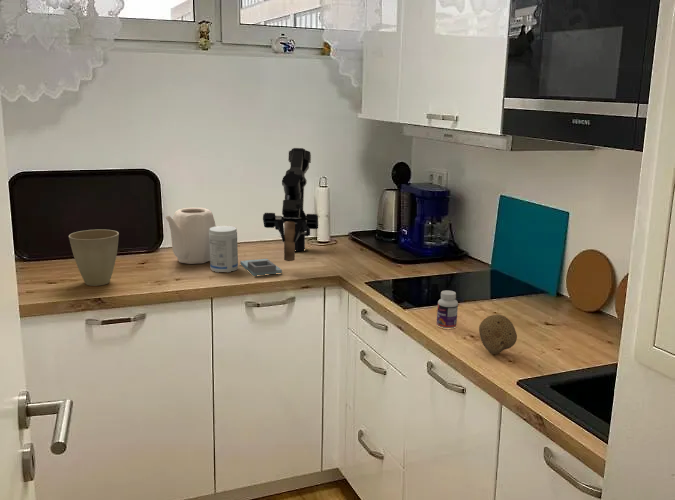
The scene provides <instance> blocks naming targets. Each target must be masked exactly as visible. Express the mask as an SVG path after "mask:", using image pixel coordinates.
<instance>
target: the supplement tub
mask: <svg viewBox="0 0 675 500" xmlns="http://www.w3.org/2000/svg"><path fill="white" fill-rule="evenodd" d="M209 245H210V261H209V264H210V265H209V267H210V270H211V271H213V272H214V271H215V273H219V272H227V273H232V272H231V271H233V272H235V271H237V270H238V268H239V259H238V258H239V256H238V255H239V254H238V253H239V251H238V250H239V249H238V231H237V227H235V226H232V225H216V226H215V227H212V228H210V229H209Z"/></svg>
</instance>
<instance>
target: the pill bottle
mask: <svg viewBox="0 0 675 500" xmlns="http://www.w3.org/2000/svg"><path fill="white" fill-rule="evenodd" d="M458 310H459V302H458V300H457V293H456V291H453V290H442V291H441V292H440V299H439V300H438V301H437V314H436V326H437V325H438V326H440V327H443V328H454V327H456V328H457V325H458V323H457V322H458V312H459V311H458ZM438 326H437V327H438ZM454 329H455V328H454Z"/></svg>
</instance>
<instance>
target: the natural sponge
mask: <svg viewBox="0 0 675 500" xmlns="http://www.w3.org/2000/svg"><path fill="white" fill-rule="evenodd" d="M478 331H479V338H480V340H481V342H482V346H483V347H484V349H486V351H488V353H490V354H491V355H493V354H496V355H498V354H500V353H502V352H503V351H505V350H508V349H510V348H512V347H513V346H514V345H516V343H517V340H518V339H517V338H518V335H517V332H516V329H515V325H514V323H513V322H512V321H511V320H510V319H509V318H508V317H506V316H505V315H502V314H493V315H492V314H491V315H489V316H488V315H487V317H486V318H484V319H483V320H482V321H481V322H480V324H479V326H478Z"/></svg>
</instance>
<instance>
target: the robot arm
mask: <svg viewBox="0 0 675 500" xmlns="http://www.w3.org/2000/svg"><path fill="white" fill-rule="evenodd" d="M311 160H312V153H311V151H309V150H306V149H305V148H303V147H301V148H300V147H293V148H291V150H288V162H289V163H290V164H289V165H290V166H289V167H290V168H289V169H287V170H286V172H285V175H284V176H282V180H281V185H282V187H283V193H284V199H283V200H282V209H281V215H276V213H275V212H264V213H263V214H262V221H263V225H264V228H267V229H273V228H274V229H275V230H277V231H278V232H279V234H280V237H281V241H282V243H284V222H286V221H293V222H295V238H294V242H295V250H296V251H303V252H305V251H304V249H305V248H306V237H309V236H311V230H318V229H319V215H318V214H317V213H305V211H304V197H305V187H306V184H307V182H308V181H307V179H306V175H305V174H306V173H307V171H308V170H309V169H310V163H311V162H312V161H311Z"/></svg>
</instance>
